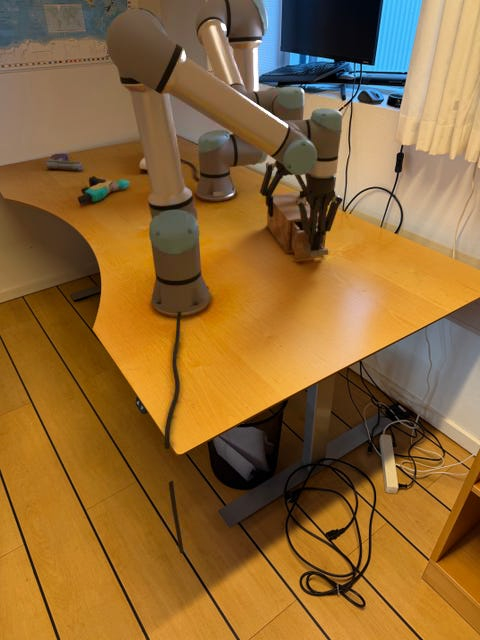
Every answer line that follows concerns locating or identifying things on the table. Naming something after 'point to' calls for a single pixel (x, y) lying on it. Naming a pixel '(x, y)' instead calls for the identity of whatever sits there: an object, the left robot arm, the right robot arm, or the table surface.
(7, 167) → the table surface
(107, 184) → the toy gun
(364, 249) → the table surface
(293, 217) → the cabinet
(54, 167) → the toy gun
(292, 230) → the drawer
